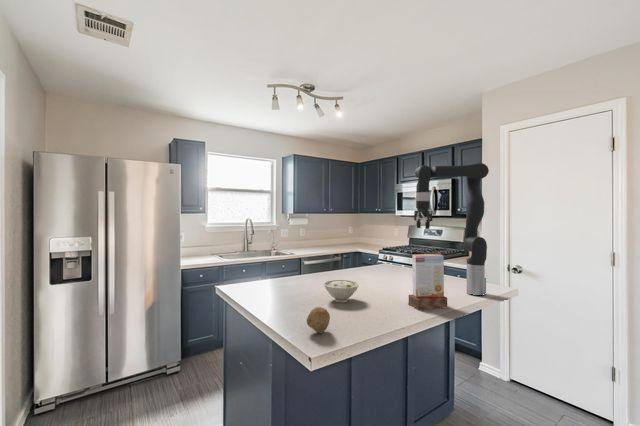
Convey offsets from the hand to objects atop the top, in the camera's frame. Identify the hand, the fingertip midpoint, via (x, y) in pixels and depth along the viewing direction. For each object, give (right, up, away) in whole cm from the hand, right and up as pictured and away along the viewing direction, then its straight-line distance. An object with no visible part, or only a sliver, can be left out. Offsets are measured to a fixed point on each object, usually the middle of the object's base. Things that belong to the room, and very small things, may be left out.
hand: (422, 228), depth 172 cm
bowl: (-48, -38, -13) cm, 63 cm away
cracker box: (-6, -33, -23) cm, 41 cm away
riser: (-6, -38, -23) cm, 45 cm away
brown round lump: (-60, -38, -56) cm, 91 cm away
